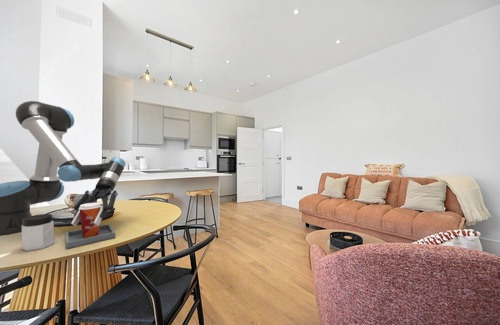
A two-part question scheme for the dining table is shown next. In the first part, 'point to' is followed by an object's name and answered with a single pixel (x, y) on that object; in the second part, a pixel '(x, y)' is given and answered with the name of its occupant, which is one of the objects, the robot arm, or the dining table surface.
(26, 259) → the dining table surface
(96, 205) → the paper cup
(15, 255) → the dining table surface
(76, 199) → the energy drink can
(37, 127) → the robot arm
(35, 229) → the jar
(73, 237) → the tray
